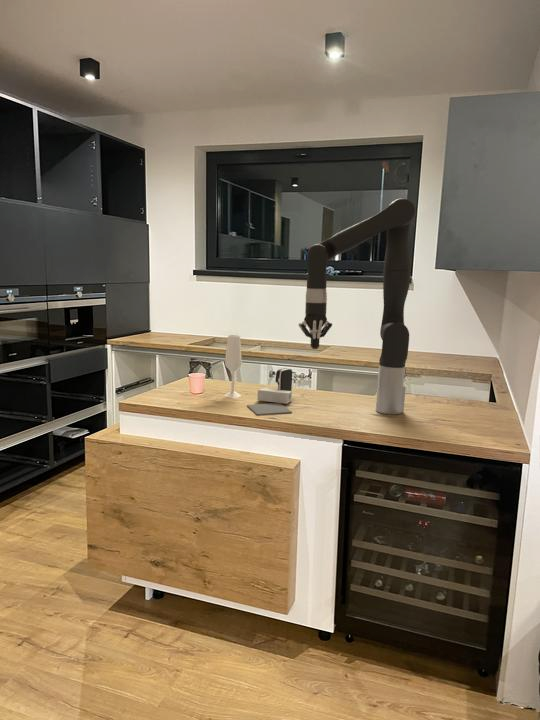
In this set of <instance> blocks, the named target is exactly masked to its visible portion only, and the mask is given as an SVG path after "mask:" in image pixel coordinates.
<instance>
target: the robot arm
mask: <svg viewBox="0 0 540 720" xmlns="http://www.w3.org/2000/svg"><path fill="white" fill-rule="evenodd" d="M415 214H416V207H415V205H414V203H413V201H411V200H410V199H408V198H402V197H401V198H397V199H395V200H393V201H392V202H391V203H390V204H389V205H388V206H387V207H385V208H384V209H382V210H381V211H379V212H378V213H376V214H374V215H372V216H371V217H368V218H366V219H364V220H362V221H360V222H358V223H356V224H354V225H351V226H349V227H347V228H344V229H343V230H341V231H339V232H337V233H335V234H334V235H332V236H331V237H330V238H327V239H326V240H323V241H321V242H319V243H315V244H312V245H311V246H310V247H309V248H308V251H307V255H306V256H307V257H306V258H307V259H306V260H307V262H306V263H307V276H306V277H307V278H306V291H305V317H304V319H303V321H302V322H301V323H298V327H299V328H300V330H301V331H302V333H303V334H304V335H305V337H307V338H309V339H310V347H311V349H312V350H318V348H319V347H320V339H321V338H324V337H325V336H326V334H327V333H328V332H329V331H330V329H331V328H332V327H333V323H332V322H329V320H328V318H327V305H328V303H327V302H328V298H327V297H328V293H327V284H328V283H327V265H328V261H329V260H330V259H332V258H335V257H336V256H339V255H341V254H343V253H346V252H348V251H350V250H352V249H354V248H355V247H358V246H360V245H362V244H363V243H365V242H366V241H368V240H370V239H372V238H373V237H375V236H376V235H379V234H381V233H383V232H386V247H385V255H384V265H383V279H382V280H383V281H382V284H383V285H382V288H383V289H382V290H383V291H382V293H383V294H382V296H383V297H382V298H383V311H382V317H381V318H382V319H381V325H380V333H379V335H380V339H381V340H382V342H381V343H382V344H381V354H380V357H379V361H378V362H379V363H378V364H379V365H378V373H377V374H378V375H377V387H376V388H377V391H376V401H375V402H376V403H375V411H376V412H378V413H379V414H384V415H398V414H401V413H404V412H405V400H406V389H407V388H406V386H404V385H405V383H404V382H405V373H406V362H407V359H408V354H409V346H410V345H409V344H410V331H409V328H408V327H407V326H406V325H405V320H404V319H405V315H404V312H405V303H406V300H407V297H408V293H409V290H410V289H409V288H410V285H411V284H410V282H411V270H412V269H411V256H410V249H409V233H410V226H411V225H410V224H411V222H412V221H413V220H414V217H415ZM307 327H308V328H307Z"/></svg>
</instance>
